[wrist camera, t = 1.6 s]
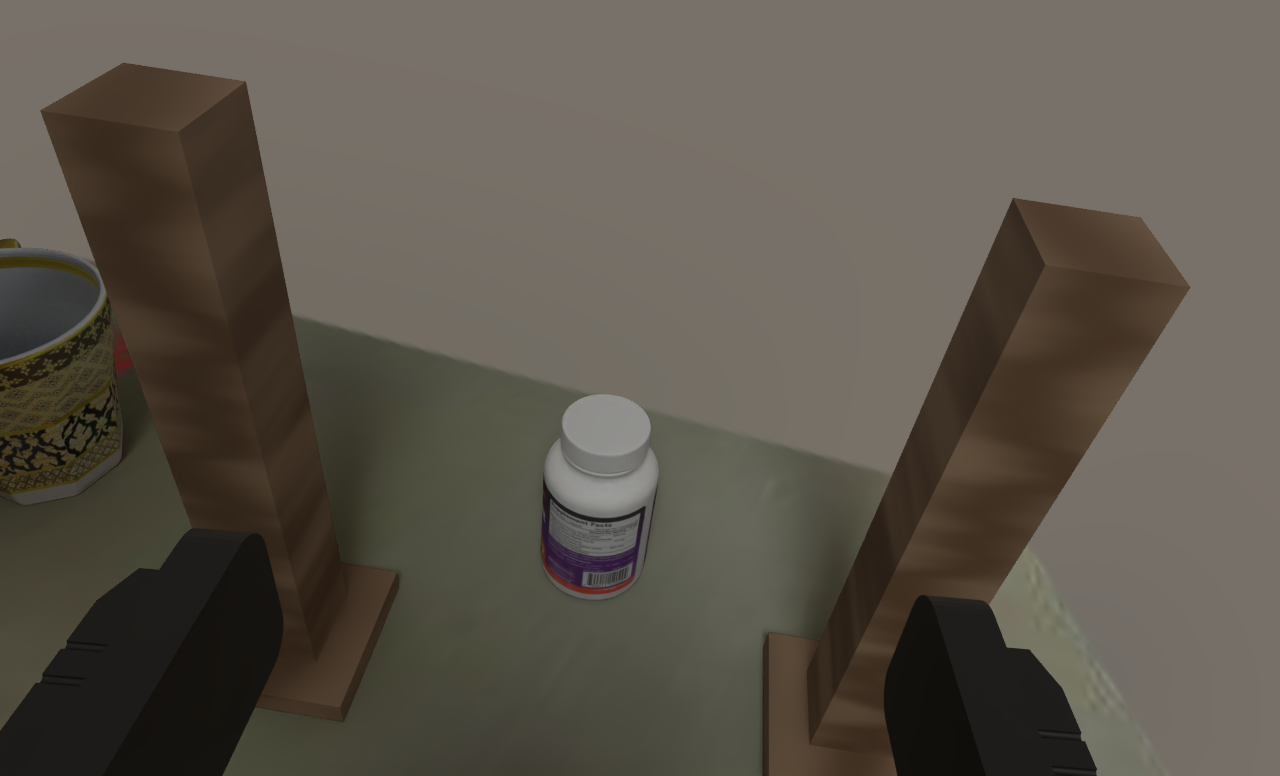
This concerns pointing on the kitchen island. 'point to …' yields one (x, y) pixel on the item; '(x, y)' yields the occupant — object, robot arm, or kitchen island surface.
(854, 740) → the walnut post
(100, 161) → the walnut post
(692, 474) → the kitchen island surface
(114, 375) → the ceramic cup
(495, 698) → the kitchen island surface
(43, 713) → the robot arm
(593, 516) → the pill bottle
